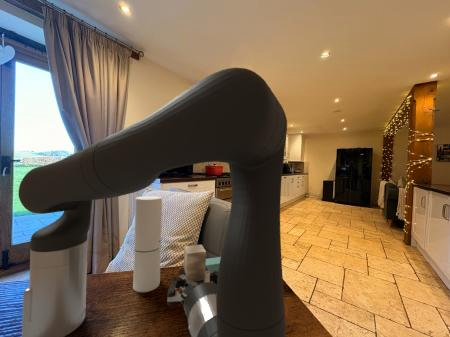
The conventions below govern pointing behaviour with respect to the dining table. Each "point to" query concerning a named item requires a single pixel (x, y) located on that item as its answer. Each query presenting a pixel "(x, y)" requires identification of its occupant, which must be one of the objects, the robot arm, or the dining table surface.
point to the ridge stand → (213, 264)
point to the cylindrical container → (147, 243)
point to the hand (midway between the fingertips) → (191, 270)
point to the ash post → (194, 262)
